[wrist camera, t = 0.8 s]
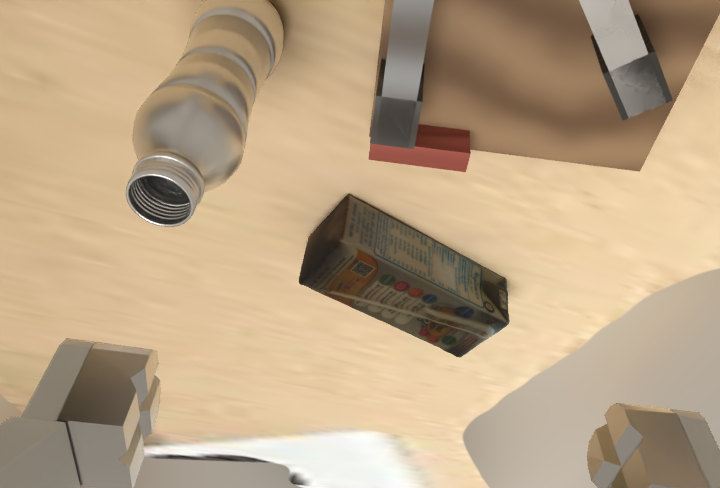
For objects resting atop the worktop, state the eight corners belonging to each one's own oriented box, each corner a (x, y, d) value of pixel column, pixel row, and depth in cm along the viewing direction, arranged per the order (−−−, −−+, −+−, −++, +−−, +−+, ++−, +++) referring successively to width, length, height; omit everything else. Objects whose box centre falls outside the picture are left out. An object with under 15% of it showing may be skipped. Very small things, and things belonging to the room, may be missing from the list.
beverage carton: (458, 316, 69) (459, 367, 65) (303, 237, 63) (291, 288, 58) (509, 277, 64) (513, 329, 59) (345, 187, 58) (336, 238, 53)
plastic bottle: (301, -1, 46) (236, 177, 32) (273, 76, 50) (205, 261, 36) (214, -40, 44) (104, 128, 30) (193, 43, 49) (90, 222, 35)
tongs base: (414, -249, 35) (408, -220, 30) (817, -199, 35) (887, -160, 29) (370, 129, 53) (361, 192, 47) (637, 163, 53) (659, 231, 47)
